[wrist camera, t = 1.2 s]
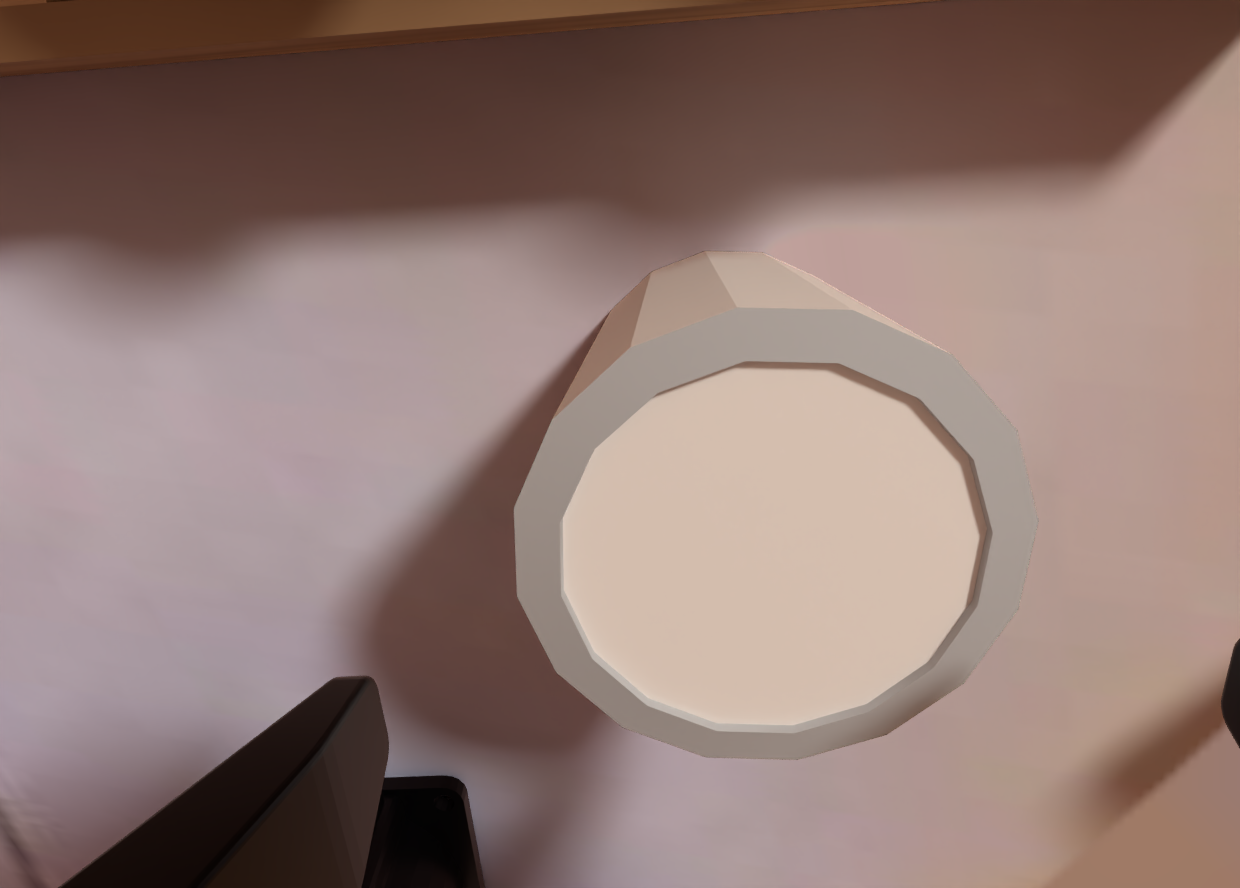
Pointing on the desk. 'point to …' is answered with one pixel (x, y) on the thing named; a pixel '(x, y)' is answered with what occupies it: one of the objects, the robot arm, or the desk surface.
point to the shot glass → (769, 516)
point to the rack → (316, 25)
